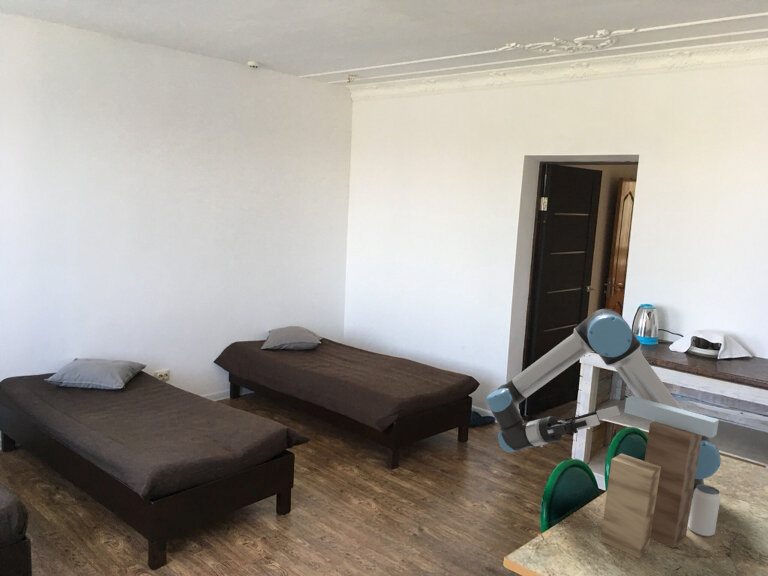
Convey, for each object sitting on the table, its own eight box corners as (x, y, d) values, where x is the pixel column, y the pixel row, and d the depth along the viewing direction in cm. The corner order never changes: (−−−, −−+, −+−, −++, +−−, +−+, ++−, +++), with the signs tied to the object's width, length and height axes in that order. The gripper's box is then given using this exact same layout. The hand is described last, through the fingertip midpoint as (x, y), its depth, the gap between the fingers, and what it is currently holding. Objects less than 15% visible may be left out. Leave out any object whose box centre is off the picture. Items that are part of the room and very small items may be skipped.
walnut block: (648, 519, 172) (663, 416, 168) (686, 535, 165) (703, 427, 161) (634, 531, 165) (649, 423, 161) (673, 548, 158) (690, 435, 154)
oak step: (610, 532, 163) (621, 453, 160) (648, 549, 156) (661, 466, 153) (600, 540, 159) (611, 459, 156) (639, 558, 152) (652, 473, 149)
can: (717, 539, 165) (724, 496, 163) (691, 534, 166) (698, 492, 164) (710, 527, 171) (716, 486, 169) (685, 522, 172) (691, 482, 171)
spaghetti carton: (624, 412, 168) (626, 398, 168) (630, 409, 171) (632, 395, 171) (711, 438, 154) (714, 422, 153) (716, 434, 156) (718, 419, 156)
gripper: (568, 434, 195) (631, 419, 181) (527, 453, 177) (593, 437, 163) (560, 411, 197) (621, 394, 183) (518, 427, 179) (583, 409, 165)
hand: (608, 414), depth 173 cm, fingers open, 13 cm apart
